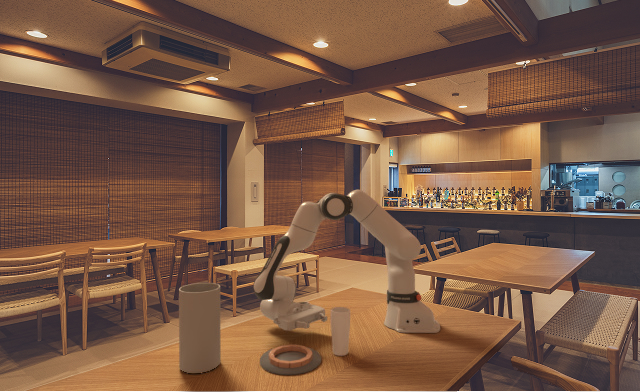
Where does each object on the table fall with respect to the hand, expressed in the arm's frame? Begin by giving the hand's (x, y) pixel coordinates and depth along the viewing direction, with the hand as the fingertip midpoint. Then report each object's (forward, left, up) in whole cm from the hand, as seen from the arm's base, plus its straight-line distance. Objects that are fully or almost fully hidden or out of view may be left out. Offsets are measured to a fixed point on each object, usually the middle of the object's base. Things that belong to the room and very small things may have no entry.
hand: (317, 322), depth 135 cm
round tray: (+6, +15, -8) cm, 17 cm away
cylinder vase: (+32, +25, -8) cm, 42 cm away
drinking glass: (-9, +6, -8) cm, 14 cm away
